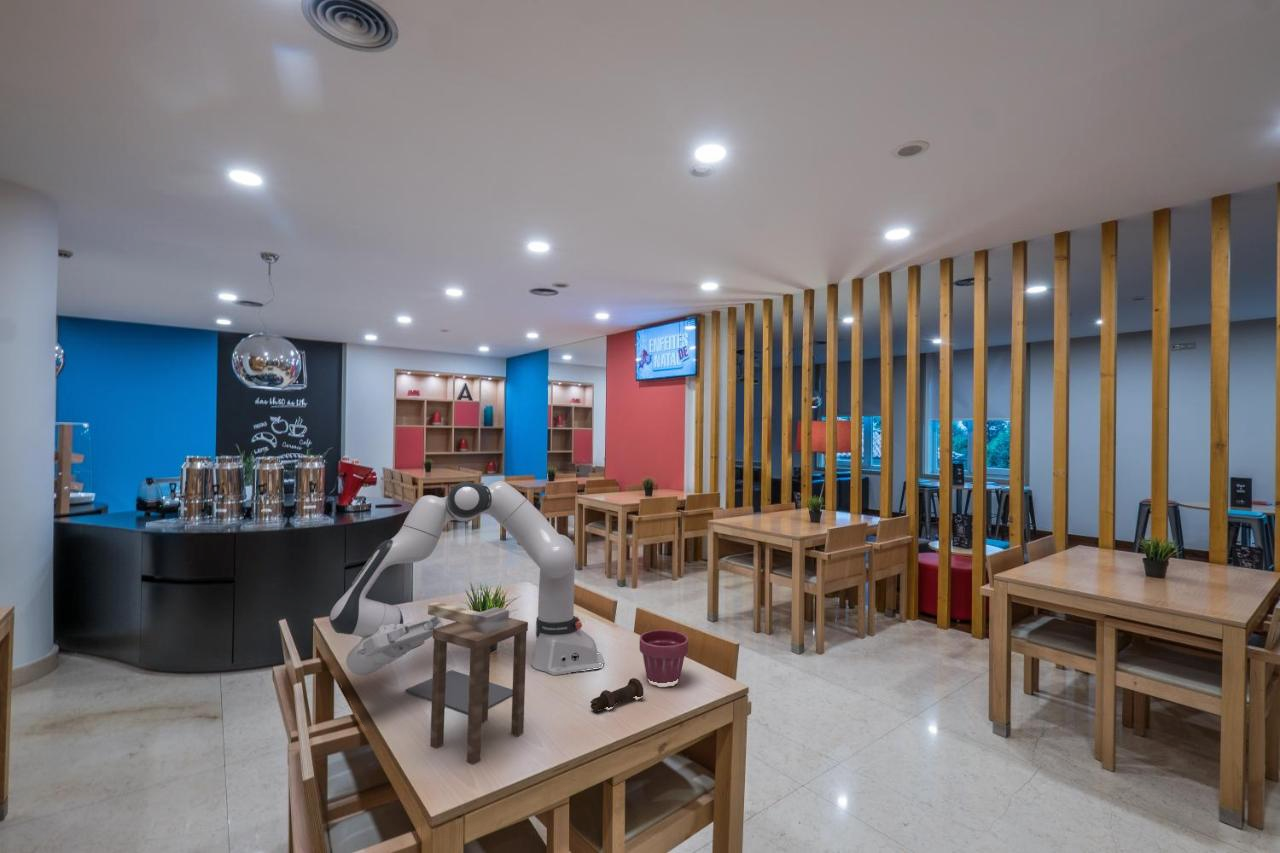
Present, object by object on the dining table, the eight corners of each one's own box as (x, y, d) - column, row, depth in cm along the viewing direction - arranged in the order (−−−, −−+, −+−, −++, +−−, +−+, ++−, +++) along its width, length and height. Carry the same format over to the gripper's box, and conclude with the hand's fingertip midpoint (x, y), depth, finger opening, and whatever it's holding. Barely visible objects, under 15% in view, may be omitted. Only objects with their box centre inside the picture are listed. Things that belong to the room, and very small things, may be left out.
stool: (428, 746, 127) (433, 629, 128) (481, 717, 141) (485, 612, 142) (473, 765, 120) (477, 641, 121) (524, 733, 134) (528, 622, 135)
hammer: (420, 616, 137) (420, 601, 137) (443, 609, 143) (444, 595, 143) (486, 633, 126) (486, 617, 126) (508, 625, 132) (508, 609, 132)
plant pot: (656, 696, 155) (657, 649, 156) (629, 678, 167) (630, 634, 167) (697, 685, 163) (698, 640, 163) (668, 668, 175) (669, 626, 175)
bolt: (591, 719, 145) (636, 701, 155) (601, 716, 142) (646, 697, 152) (584, 696, 147) (629, 679, 157) (594, 692, 144) (639, 675, 154)
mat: (405, 691, 154) (405, 689, 154) (451, 672, 168) (451, 670, 168) (473, 716, 141) (473, 714, 141) (517, 693, 155) (517, 691, 155)
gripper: (349, 642, 139) (381, 623, 134) (419, 621, 157) (450, 602, 151) (356, 668, 138) (389, 649, 132) (426, 643, 155) (457, 625, 149)
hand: (422, 624), depth 142 cm, fingers open, 8 cm apart
